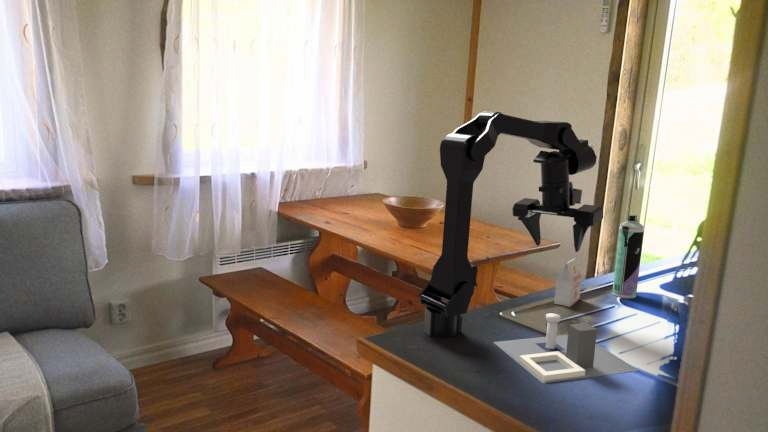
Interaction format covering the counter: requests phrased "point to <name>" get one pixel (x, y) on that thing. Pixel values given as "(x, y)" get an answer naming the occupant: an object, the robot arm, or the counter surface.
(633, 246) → the spray can
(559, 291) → the white gabled carton
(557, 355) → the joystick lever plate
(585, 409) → the counter surface
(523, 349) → the hook board
